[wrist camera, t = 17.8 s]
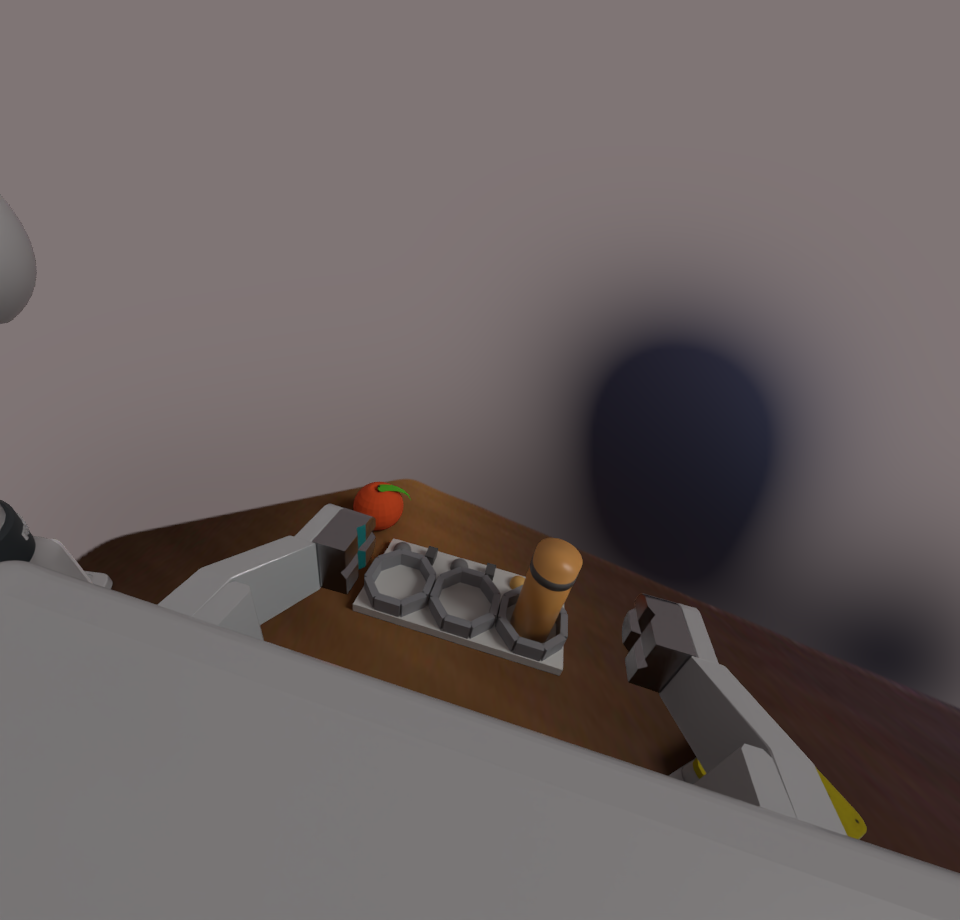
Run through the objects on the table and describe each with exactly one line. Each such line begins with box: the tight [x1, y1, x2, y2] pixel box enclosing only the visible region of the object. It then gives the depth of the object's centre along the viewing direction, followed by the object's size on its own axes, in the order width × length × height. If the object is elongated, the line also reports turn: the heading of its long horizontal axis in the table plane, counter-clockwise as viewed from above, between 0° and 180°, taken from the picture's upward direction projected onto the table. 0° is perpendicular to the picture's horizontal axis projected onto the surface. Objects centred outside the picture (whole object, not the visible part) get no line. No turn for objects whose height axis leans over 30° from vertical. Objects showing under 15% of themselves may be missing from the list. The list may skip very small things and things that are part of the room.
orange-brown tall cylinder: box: [510, 538, 582, 643], centre depth 39 cm, size 5×5×12 cm
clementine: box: [353, 482, 411, 530], centre depth 52 cm, size 8×7×7 cm
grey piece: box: [353, 538, 568, 676], centre depth 44 cm, size 24×11×3 cm, turn 77°
